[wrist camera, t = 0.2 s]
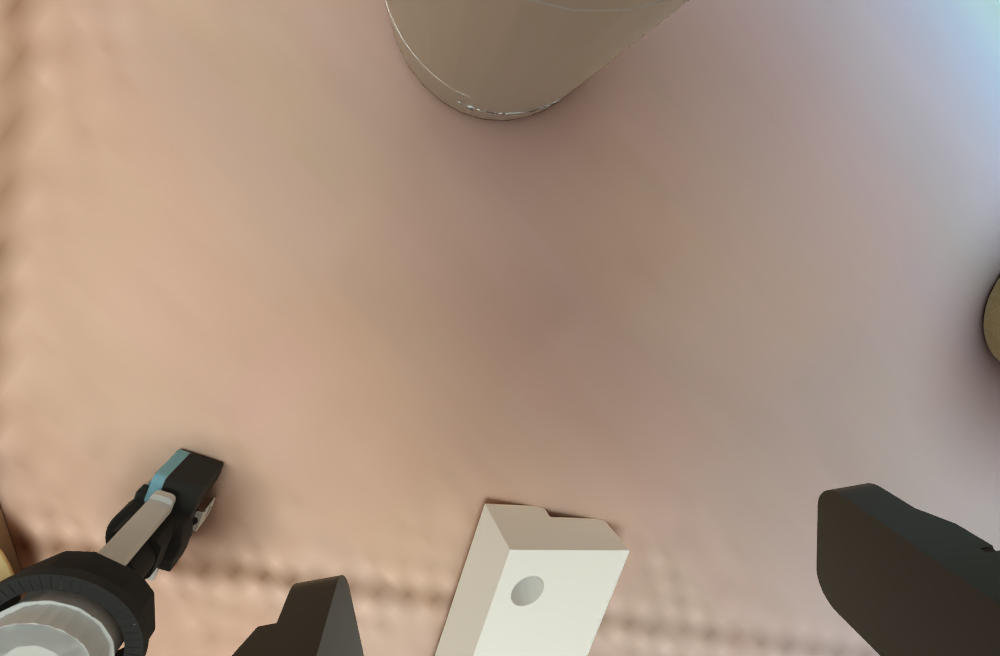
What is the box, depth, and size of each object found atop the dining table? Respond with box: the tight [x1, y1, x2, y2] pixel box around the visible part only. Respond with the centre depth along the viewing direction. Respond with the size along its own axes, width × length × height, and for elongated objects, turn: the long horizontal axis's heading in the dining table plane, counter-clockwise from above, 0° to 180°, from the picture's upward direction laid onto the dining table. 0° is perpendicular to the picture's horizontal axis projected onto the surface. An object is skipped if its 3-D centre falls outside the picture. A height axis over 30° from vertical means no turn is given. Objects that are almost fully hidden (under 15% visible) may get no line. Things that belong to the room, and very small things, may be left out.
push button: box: [0, 449, 223, 656], centre depth 21 cm, size 7×5×10 cm
